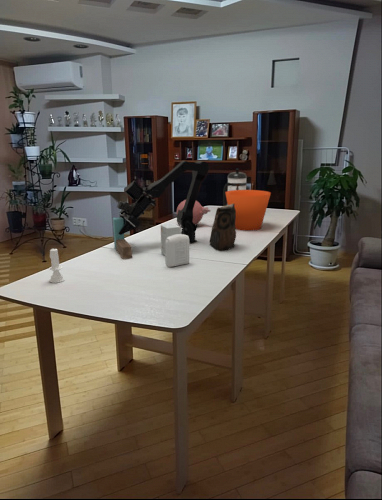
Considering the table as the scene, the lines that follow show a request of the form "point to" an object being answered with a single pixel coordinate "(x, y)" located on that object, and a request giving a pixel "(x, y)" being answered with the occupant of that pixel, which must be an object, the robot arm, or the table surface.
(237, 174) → the coffee press
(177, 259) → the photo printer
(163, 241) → the small box
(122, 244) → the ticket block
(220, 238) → the owl
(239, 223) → the flowerpot
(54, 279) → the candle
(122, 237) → the tall teal pillar
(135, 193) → the robot arm
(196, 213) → the balloon
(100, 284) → the table surface
